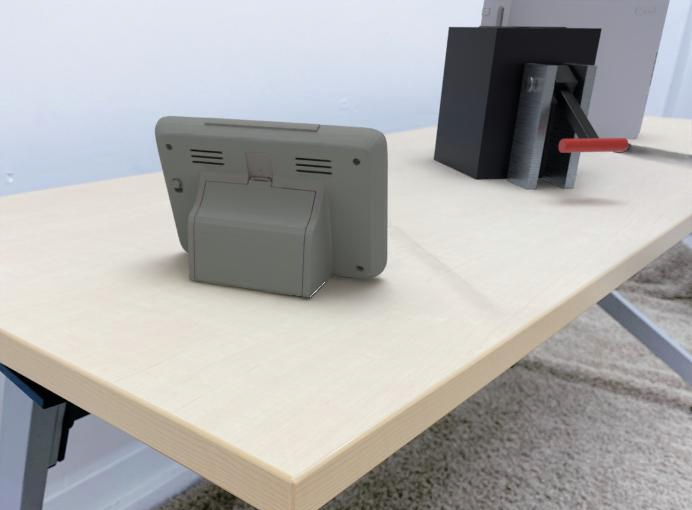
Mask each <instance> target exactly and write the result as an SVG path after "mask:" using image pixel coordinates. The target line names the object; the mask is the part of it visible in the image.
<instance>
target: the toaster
mask: <svg viewBox="0 0 692 510" xmlns="http://www.w3.org/2000/svg"><path fill="white" fill-rule="evenodd" d="M601 30H602V28H567V27H531V26H513V27H511V26H480V25H479V26H448V29H447V31H448V32H447V40H446V49H445V57H444V66H443V74H442V84H441V92H440V100H439V109H438V110H439V111H438V116H437V117H438V118H437V127H436V134H435V135H436V137H435V145H434V152H433V160H434V162H437V163H439V164H442V165H444V166H446V167H448V168H450V169H453V170H455V171H456V172H458V173H461V174H463V175H465V176H467V177H469V178H471V179H474V180H476V181H477V180H479V181H481V180H507V175H508V169H509V163H510V156H511V150H512V144H513V137H514V131H515V125H516V118H517V112H518V106H519V99H520V93H521V87H522V80H523V74H524V68H525V64H526V63H535V64H545V65H563V63H574V64H584V65H595V61H596V56H597V51H598V46H599V40H600V35H601ZM555 105H556V103H551V107H550V112H549V118H548V124H547V129H546V135H545V141H544V147H543V152H542V158H541V164H540V169H539V175H538V179H542V178H543V173H544V167H545V161H546V156H547V150H548V145H549V139H550V133H551V128H552V122H553V116H554V111H555Z"/></svg>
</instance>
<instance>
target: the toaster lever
mask: <svg viewBox="0 0 692 510" xmlns="http://www.w3.org/2000/svg"><path fill="white" fill-rule="evenodd" d="M554 66H557V72H556V78H555V84H554V90H553V95H552V101H551V103H559V105H560V107H561V109H562V110H563V112H564V114H565V116H566V117H567V119H568V121H569V122H570V124H571V126H572V128H573V129H574V131H575V133H576V134H577V136H578V138H579V139H561V140H560V142H559V151H560V152H561V153H568V152H580V153H621V152H622V153H623V152H626V151H627V150H628V148H629V147H628V143H629V140H627V139H626V138H599V137H598V135H597V133H596V132H595V130H594V128H593V127H592V125H591V123H590V122H589V120H588V118H587V117H586V115H585V113H584V112H583V110H582V109H581V107H580V105H579V104H578V102H577V100H576V99H575V97H574V95H573V94H572V93H573V91H574V89H575V87H576V86H577V84H578V81H577V80H576V78H575V76H574V75H573V73H572V72H571V70H570V68H569V67H568V65H554ZM627 147H628V148H627ZM625 150H626V151H625Z"/></svg>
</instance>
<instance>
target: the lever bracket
mask: <svg viewBox="0 0 692 510" xmlns="http://www.w3.org/2000/svg"><path fill="white" fill-rule="evenodd" d="M563 65H568V67H569V68H570V70H571V72H572V73H573V75H574V76H575V78H576V80H577V81H578V84H577V86H576V87H575V89H574V91H573V93H572V94H573V95H574V97H575V99H576V100H577V102H578V104H579V105H580V107H581V109H582V110H583V112H584V113H585V115H586V117H588V112H589V107H590V102H591V97H592V92H593V86H594V81H595V76H596V71H597V66H595V65H584V64H574V63H563ZM556 72H557V66H554V65H545V64H535V63H526V64H525V68H524V74H523V80H522V87H521V93H520V99H519V106H518V112H517V118H516V125H515V131H514V137H513V144H512V150H511V156H510V163H509V169H508V175H507V179H506V182H508V183H511V184H514V185H515V186H518V187H520V188H523V189H525V190H537V187H538V181H539V178H538V175H539V169H540V164H541V158H542V152H543V147H544V141H545V135H546V129H547V124H548V118H549V112H550V107H551V101H552V95H553V90H554V84H555V78H556ZM561 139H579V138H578V136H577V134H576V133H575V131H574V129H573V128H572V126H571V124H570V122H569V121H568V119H567V117H566V116H565V114H564V112H563V110H562V109H561V107H560V105H559V103H556V105H555V111H554V116H553V122H552V128H551V133H550V139H549V145H548V150H547V156H546V161H545V167H544V173H543V178H541V180H542V181H544V182H547V183H549V184H551V185H554V186H557V187H559V188H562V189H563V190H566V189H570V190H571V189H574V187H575V182H576V178H577V173H578V169H579V161H580V156H581V152H568V153H561V152H560V151H559V142H560V140H561Z"/></svg>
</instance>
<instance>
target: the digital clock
mask: <svg viewBox="0 0 692 510" xmlns="http://www.w3.org/2000/svg"><path fill="white" fill-rule="evenodd" d="M154 137H155V143H156V148H157V152H158V158H159V163H160V165H161V170H162V174H163V179H164V181H165V182H164V183H165V186H166V191H167V195H168V200H169V203H170V207H171V212H172V216H173V220H174V221H173V222H174V224H175V225H174V226H175V229H176V234H177V237H178V240H179V244H180V246H181V248H182V249H183V251H184V252H186V253H187V255H188V256H187V257H188V259H187V260H188V262H187V263H188V278H189V280H190V281H195V282H196V281H197V282H202V283H208V284H215V285H220V284H221V286H227V287H233V286H234V288H241V289H246V288H247V290H253V289H254V291H259V290H260V291H259V292H266V293H272V292H273V294H279V293H280V295H285V294H287V295H286V296H292V295H297V296H296V297H298V296H303V297H302V298H307V297H310V296H311V295H312V294H313V293H314V292H315V291H316V290H317V289H318V288H319V287H320V286H321V285H322V284H323V283H324V282H326V281H327V280H328V279H329V278H330V277H331V276H332V275H333V276H338V277H339V276H340V277H347V278H356V279H371V278H375V277H378V276H380V275H381V274H382V273H383V272H384V271H385V269H386V267H387V265H388V226H389V225H388V216H389V215H388V210H389V209H388V205H389V204H388V203H389V201H388V196H389V193H388V192H389V189H388V188H389V176H388V175H389V157H388V155H389V153H388V142H387V138H386V136H385V134H384V133H383V132H382V131H380V130H378V129H375V128H372V127H367V126H366V127H364V126H350V125H337V124H323V123H322V124H320V123H309V122H308V123H307V122H306V123H305V122H289V121H288V122H287V121H272V120H258V119H257V120H255V119H239V118H223V117H222V118H221V117H205V116H203V117H201V116H181V115H166V116H162V117H160V118H159V119H158V120H157V122H156V123H155V126H154ZM333 276H332V277H333ZM332 277H331V278H332ZM331 278H330V279H331ZM330 279H329V280H330ZM329 280H328V281H329ZM328 281H327V282H328ZM327 282H326V283H327Z"/></svg>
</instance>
